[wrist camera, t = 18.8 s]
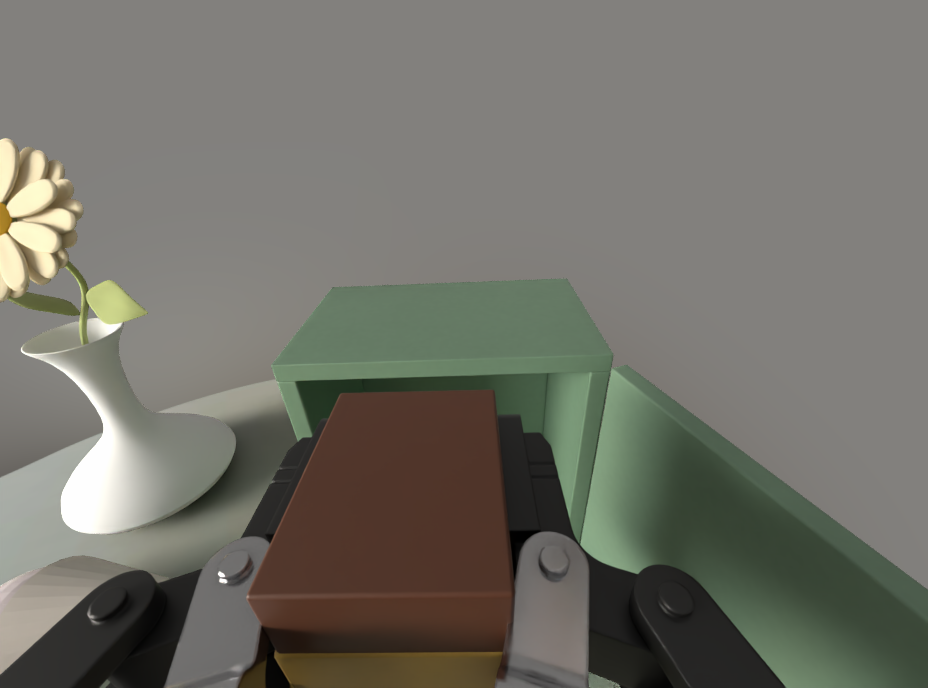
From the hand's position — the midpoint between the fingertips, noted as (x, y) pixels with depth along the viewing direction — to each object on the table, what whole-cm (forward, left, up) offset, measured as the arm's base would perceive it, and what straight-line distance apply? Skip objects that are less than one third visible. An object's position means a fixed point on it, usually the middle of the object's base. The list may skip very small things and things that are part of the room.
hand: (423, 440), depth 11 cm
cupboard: (+9, -5, -17) cm, 20 cm away
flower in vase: (+22, +15, -17) cm, 32 cm away
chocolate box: (-2, +1, -6) cm, 7 cm away
